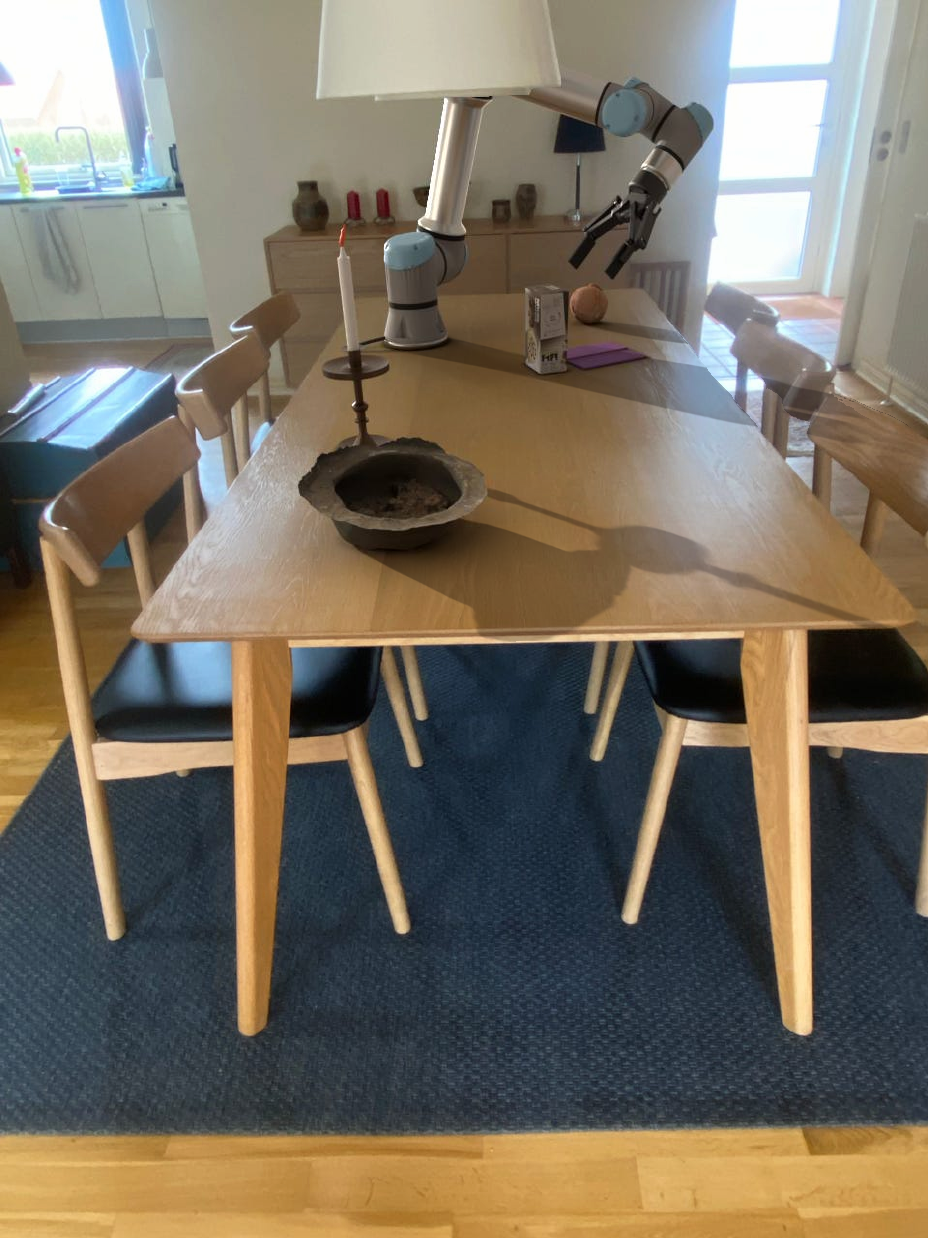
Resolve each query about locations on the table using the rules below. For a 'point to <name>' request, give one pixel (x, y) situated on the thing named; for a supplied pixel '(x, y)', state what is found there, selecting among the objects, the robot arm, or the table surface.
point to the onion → (589, 304)
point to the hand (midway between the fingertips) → (589, 270)
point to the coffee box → (546, 328)
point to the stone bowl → (393, 492)
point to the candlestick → (354, 358)
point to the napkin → (601, 355)
